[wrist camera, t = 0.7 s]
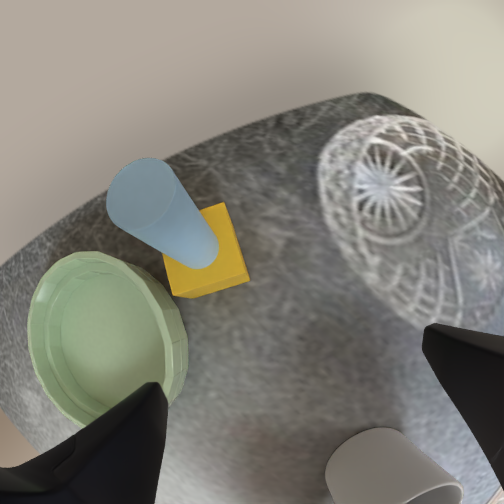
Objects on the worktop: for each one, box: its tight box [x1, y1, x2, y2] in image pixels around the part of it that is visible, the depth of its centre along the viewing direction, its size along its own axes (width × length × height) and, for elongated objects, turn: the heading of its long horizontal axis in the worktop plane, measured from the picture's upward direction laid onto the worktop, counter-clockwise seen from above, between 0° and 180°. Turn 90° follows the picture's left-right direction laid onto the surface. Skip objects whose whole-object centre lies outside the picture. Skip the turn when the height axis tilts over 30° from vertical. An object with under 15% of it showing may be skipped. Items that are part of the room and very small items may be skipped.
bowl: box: [27, 251, 189, 429], centre depth 19 cm, size 15×15×4 cm
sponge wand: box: [106, 158, 250, 299], centre depth 16 cm, size 5×5×14 cm
